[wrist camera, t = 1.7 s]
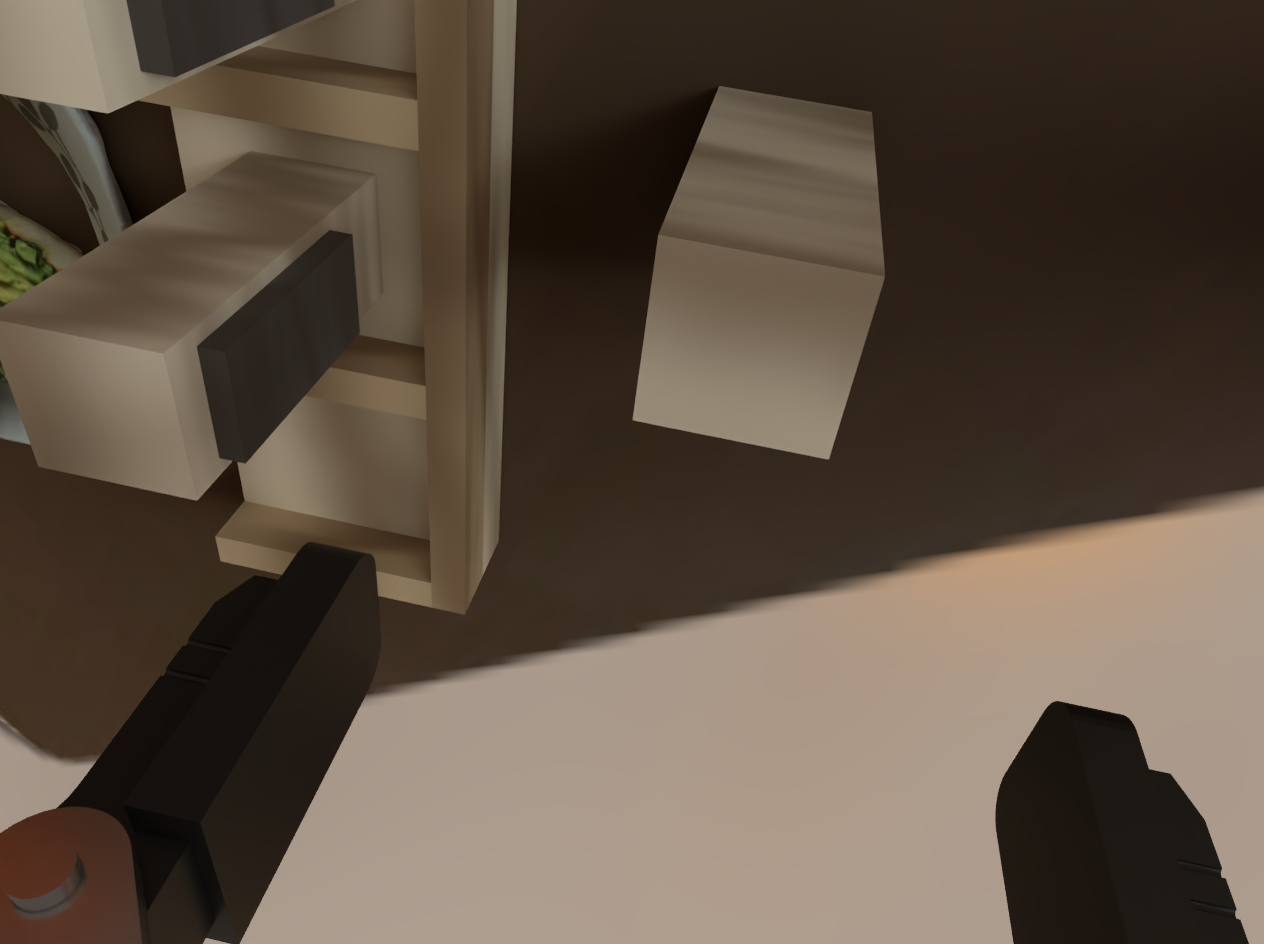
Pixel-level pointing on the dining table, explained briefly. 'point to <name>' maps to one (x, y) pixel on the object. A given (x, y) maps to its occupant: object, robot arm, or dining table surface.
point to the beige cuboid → (765, 275)
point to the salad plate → (30, 253)
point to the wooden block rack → (289, 274)
